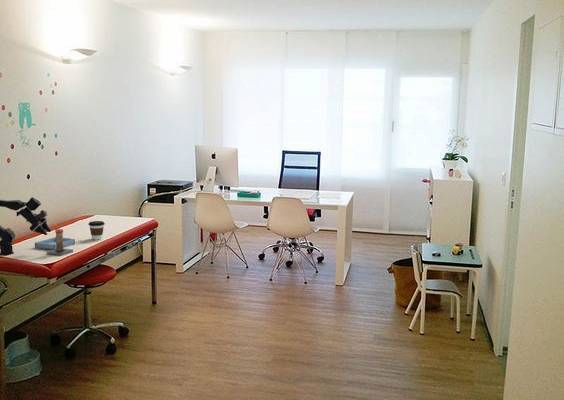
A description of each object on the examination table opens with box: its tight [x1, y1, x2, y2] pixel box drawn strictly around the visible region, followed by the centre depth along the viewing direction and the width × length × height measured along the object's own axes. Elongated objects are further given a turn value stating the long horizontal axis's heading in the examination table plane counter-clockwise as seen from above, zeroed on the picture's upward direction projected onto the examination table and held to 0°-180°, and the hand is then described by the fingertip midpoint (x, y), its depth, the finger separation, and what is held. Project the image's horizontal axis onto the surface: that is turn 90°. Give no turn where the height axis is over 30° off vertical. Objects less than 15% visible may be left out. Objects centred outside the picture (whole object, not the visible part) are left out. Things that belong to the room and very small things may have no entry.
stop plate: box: [46, 247, 74, 257], centre depth 347 cm, size 11×11×2 cm
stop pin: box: [54, 228, 64, 252], centre depth 346 cm, size 5×5×15 cm
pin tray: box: [34, 236, 76, 251], centre depth 365 cm, size 20×16×4 cm
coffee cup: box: [88, 220, 106, 241], centre depth 388 cm, size 11×11×12 cm
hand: (48, 233), depth 344 cm, fingers open, 9 cm apart
